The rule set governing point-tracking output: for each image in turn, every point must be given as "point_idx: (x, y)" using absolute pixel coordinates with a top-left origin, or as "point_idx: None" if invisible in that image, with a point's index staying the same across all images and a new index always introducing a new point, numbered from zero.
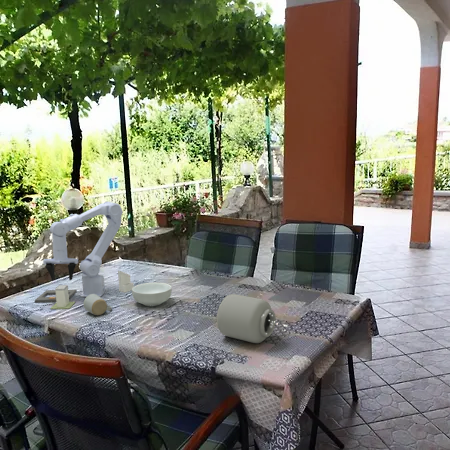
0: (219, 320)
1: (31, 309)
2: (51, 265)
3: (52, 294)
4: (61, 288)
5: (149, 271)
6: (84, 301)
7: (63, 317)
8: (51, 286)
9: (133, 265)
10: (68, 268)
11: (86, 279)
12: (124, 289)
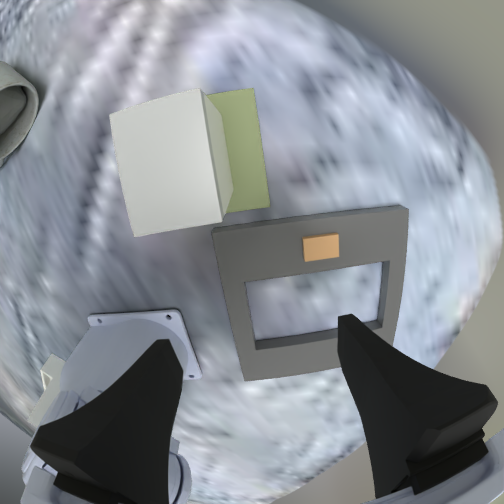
0: None
1: (368, 92)
2: (410, 463)
3: None
4: (136, 112)
5: None
6: (6, 79)
7: (121, 11)
8: None
9: (202, 497)
10: (100, 429)
11: (111, 384)
12: (46, 361)
